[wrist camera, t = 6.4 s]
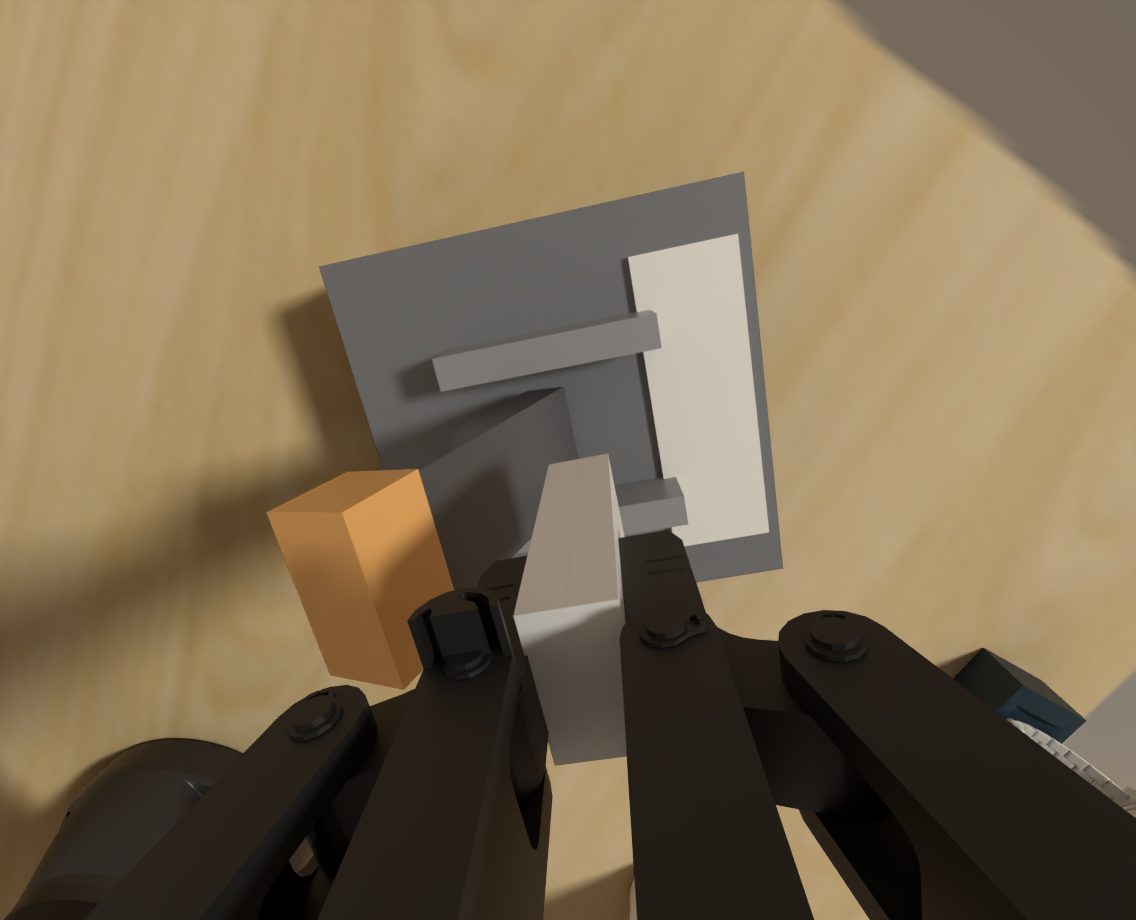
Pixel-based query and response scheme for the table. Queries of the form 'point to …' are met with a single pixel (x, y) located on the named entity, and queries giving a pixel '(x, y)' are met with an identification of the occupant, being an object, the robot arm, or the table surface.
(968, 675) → the watch
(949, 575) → the table surface
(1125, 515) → the table surface
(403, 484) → the lever
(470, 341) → the box
